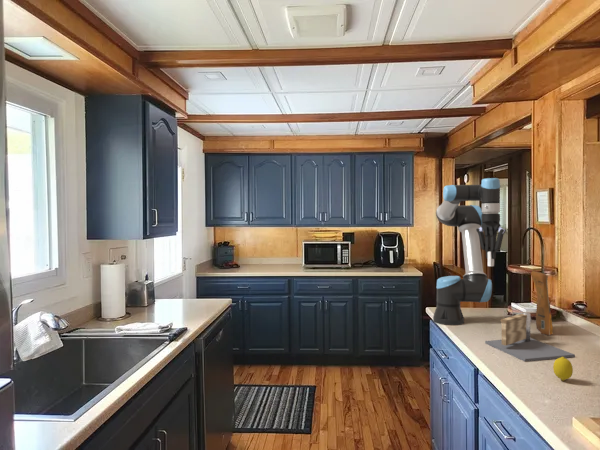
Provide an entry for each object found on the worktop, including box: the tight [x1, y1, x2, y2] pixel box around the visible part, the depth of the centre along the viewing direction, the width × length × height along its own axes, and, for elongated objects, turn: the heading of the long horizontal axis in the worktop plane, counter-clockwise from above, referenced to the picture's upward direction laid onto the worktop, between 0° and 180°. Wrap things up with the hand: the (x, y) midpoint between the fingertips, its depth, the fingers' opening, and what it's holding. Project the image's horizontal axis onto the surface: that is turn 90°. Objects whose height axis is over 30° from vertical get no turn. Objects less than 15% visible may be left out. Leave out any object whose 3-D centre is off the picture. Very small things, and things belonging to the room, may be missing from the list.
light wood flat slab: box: [500, 314, 527, 345], centre depth 179 cm, size 16×2×10 cm, turn 125°
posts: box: [509, 311, 531, 345], centre depth 183 cm, size 3×14×13 cm, turn 112°
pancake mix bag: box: [530, 270, 554, 336], centre depth 204 cm, size 7×19×28 cm, turn 163°
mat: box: [484, 337, 576, 363], centre depth 176 cm, size 24×22×1 cm
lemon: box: [552, 357, 574, 382], centre depth 143 cm, size 6×6×8 cm
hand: (490, 266), depth 192 cm, fingers closed
